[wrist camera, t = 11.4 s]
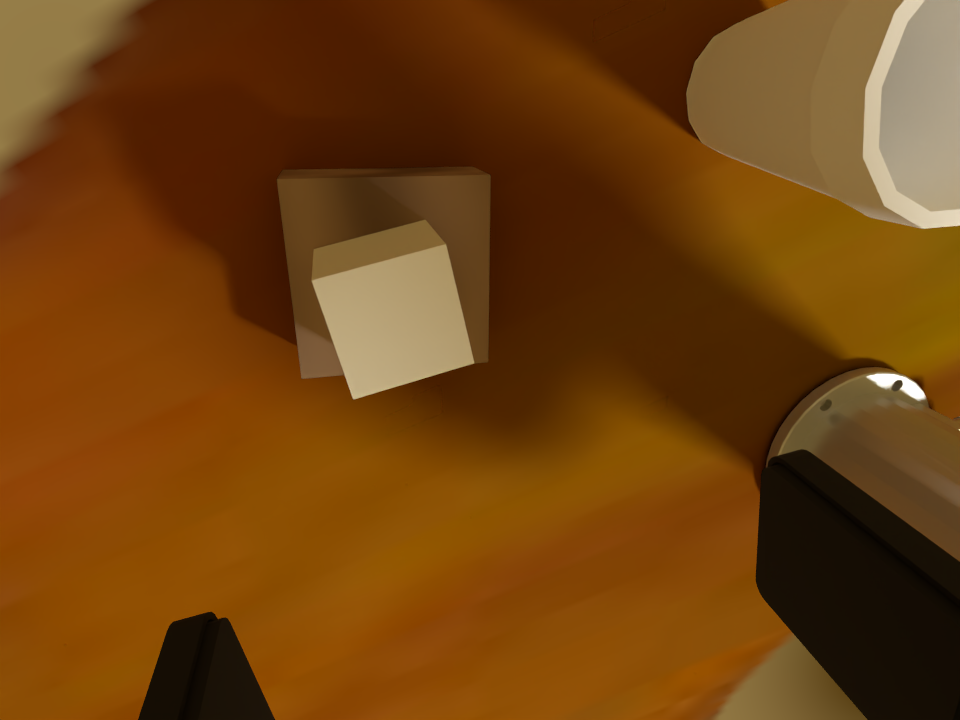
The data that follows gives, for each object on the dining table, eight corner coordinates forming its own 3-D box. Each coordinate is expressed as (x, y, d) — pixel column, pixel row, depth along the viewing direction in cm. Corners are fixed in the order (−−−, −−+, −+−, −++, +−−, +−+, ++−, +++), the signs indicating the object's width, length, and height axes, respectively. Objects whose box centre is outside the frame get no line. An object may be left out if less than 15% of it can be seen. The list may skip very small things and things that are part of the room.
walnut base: (470, 165, 30) (490, 174, 26) (470, 334, 33) (488, 362, 30) (283, 168, 28) (276, 179, 24) (304, 347, 31) (301, 378, 28)
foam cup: (801, -52, 29) (1117, -154, 17) (835, 128, 33) (1109, 143, 22) (633, 46, 29) (837, 10, 17) (688, 214, 33) (883, 275, 22)
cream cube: (425, 219, 26) (446, 243, 22) (451, 322, 28) (474, 363, 24) (313, 249, 26) (311, 280, 21) (348, 351, 28) (353, 399, 23)
